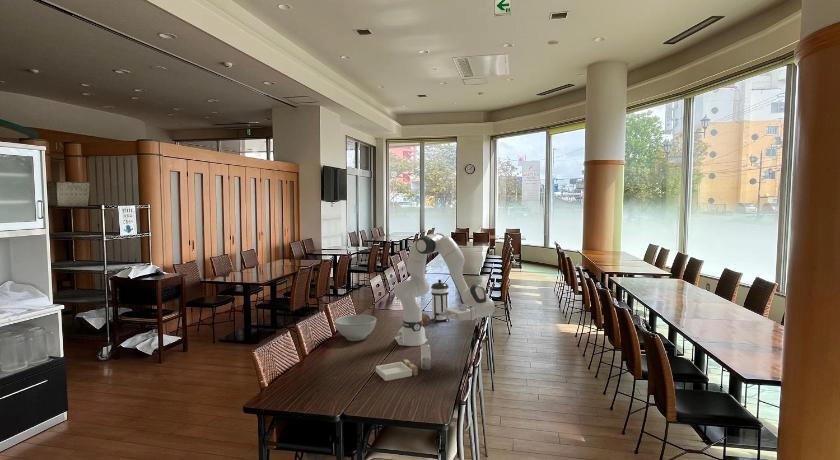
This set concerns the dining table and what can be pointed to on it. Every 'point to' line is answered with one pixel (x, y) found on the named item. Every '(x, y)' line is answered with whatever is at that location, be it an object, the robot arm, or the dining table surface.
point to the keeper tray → (393, 371)
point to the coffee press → (439, 300)
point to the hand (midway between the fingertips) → (443, 315)
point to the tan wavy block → (411, 366)
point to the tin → (425, 319)
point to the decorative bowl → (355, 326)
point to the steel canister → (425, 356)
